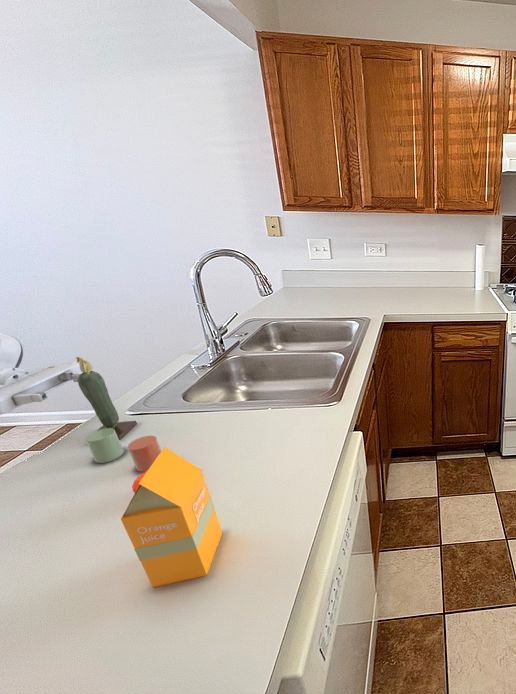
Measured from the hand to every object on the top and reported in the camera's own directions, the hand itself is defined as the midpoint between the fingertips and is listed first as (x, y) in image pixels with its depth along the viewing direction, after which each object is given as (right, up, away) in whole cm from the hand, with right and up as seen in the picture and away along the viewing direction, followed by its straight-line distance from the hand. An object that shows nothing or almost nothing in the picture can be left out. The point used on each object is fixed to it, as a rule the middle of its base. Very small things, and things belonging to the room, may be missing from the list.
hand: (63, 386), depth 94 cm
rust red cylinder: (+25, -17, -5) cm, 31 cm away
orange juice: (+50, -26, -27) cm, 63 cm away
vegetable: (+7, -11, +5) cm, 14 cm away
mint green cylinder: (+13, -16, -3) cm, 21 cm away
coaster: (+7, -12, +6) cm, 15 cm away
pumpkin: (+34, -20, -13) cm, 42 cm away
